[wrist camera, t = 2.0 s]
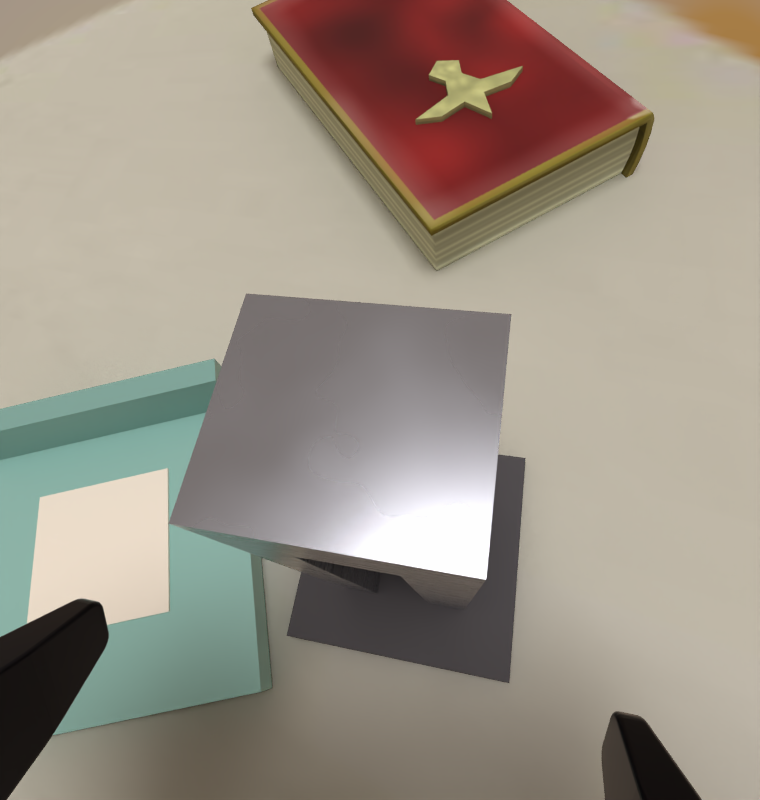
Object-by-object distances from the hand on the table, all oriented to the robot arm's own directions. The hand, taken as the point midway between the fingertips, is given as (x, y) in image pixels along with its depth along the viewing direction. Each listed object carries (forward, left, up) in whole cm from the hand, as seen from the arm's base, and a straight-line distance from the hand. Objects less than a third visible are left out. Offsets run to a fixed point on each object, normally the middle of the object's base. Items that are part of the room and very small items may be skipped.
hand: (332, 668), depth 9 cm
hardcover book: (+18, +22, -11) cm, 31 cm away
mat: (+3, +3, -11) cm, 11 cm away
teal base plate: (-7, +10, -11) cm, 16 cm away
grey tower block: (+3, +3, -10) cm, 11 cm away
